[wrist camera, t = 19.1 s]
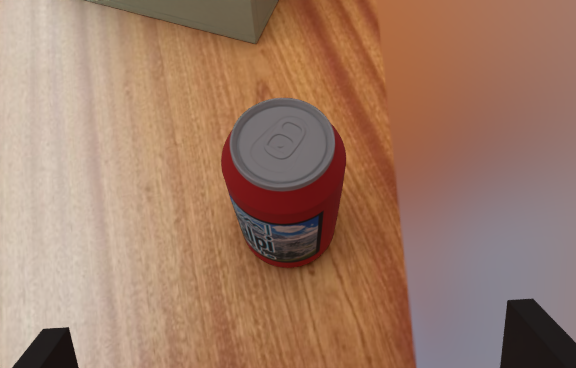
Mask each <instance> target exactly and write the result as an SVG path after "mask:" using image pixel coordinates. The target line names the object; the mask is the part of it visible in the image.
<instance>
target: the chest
mask: <svg viewBox="0 0 576 368" xmlns="http://www.w3.org/2000/svg"><path fill="white" fill-rule="evenodd" d="M86 1H90V2H94V3H98V4H102V5H105V6H109V7H113V8H117V9H121V10H125V11H129V12H133V13H137V14H141V15H145V16H148V17H152V18H156V19H160V20H164V21H168V22H172V23H176V24H180V25H184V26H188V27H191V28H195V29H199V30H203V31H207V32H211V33H215V34H219V35H223V36H227V37H231V38H234V39H238V40H242V41H246V42H250V43H254V44H256V43H257V41H258V39H259V37H260V35H261V33H262V32H263V30H264V28H265V26H266V24H267V22H268V20H269V18H270V16H271V14H272V12H273V10H274V8H275V6H276V4H277V2H278V0H86Z"/></svg>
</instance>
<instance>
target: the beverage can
mask: <svg viewBox="0 0 576 368" xmlns="http://www.w3.org/2000/svg"><path fill="white" fill-rule="evenodd" d="M221 166H222V172H223V176H224V179H225V182H226V185H227V189H228V192H229V195H230V198H231V201H232V204H233V207H234V210H235V213H236V216H237V219H238V222H239V224H240V227H241V230H242V233H243V235H244V238H245V240H246V243H247V245H248V246H249V248H250V249H251V251H252V252H253V253H254V254H255V255H256V256H257V257H259V258H260V259H261V260H263V261H265V262H266V263H269V264H271V265H274V266H278V267H285V268H291V267H298V266H302V265H305V264H308V263H310V262H312V261H313V260H315V259H316V258H318V257H319V256H320V255H321V254H322V253H323V252H324V251H325V250H326V249H327V247H328V246H329V244H330V242H331V240H332V237H333V234H334V229H335V225H336V220H337V215H338V210H339V204H340V198H341V192H342V186H343V180H344V173H345V166H346V152H345V147H344V144H343V141H342V139H341V137H340V135H339V134H338V132H337V130H336V129H335V128H334V127H333V125H332V124H331V123H330V122H329V120H328V119H327V118H326V116H325V115H324V114H323V113H322V112H321V111H320V110H319V109H317V108H316V107H314V106H313V105H311V104H309V103H307V102H304V101H301V100H298V99H292V98H275V99H270V100H266V101H263V102H260V103H258V104H256V105H254V106H252V107H251V108H249V109H248V110H247V111H245V112H244V113H243V114H242V115H241V116H240V118H239V119H238V120H237V122H236V123H235V125H234V127H233V130H232V131H231V133H230V134H229V136H228V138H227V140H226V142H225V144H224V147H223V151H222V158H221Z"/></svg>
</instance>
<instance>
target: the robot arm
mask: <svg viewBox="0 0 576 368" xmlns="http://www.w3.org/2000/svg"><path fill="white" fill-rule="evenodd" d="M12 368H79V367H78V363H77V359H76V355H75V351H74V347H73V343H72V339H71V334H70V330H69V327H66V328H50V329H43V330H42V331H41V332H40V333H39V335H38V336H37V337H36V338H35V340H34V341H33V342H32V343H31V345H30V346H29V347H28V348H27V350H26V351H25V352H24V354H23V355H22V356H21V357H20V359H19V360H18V361H17V362H16V364H15V365H14V366H13V367H12ZM500 368H576V343H575V342H574V341H573V339H572V338H571V337H570V336H569V335H568V334H566V332H565V331H564V330H563V329H562V328H561V327H560V326H559V325H558V324H557V323H556V322H555V321H554V320H553V319H552V318H551V317H550V316H549V315H548V314H547V313H546V312H545V311H544V310H543V309H542V308H541V306H540V305H539V304H538V303H537V302H536V301H535V300H534V299H520V300H508V301H507V310H506V319H505V329H504V337H503V346H502V356H501V365H500Z"/></svg>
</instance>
